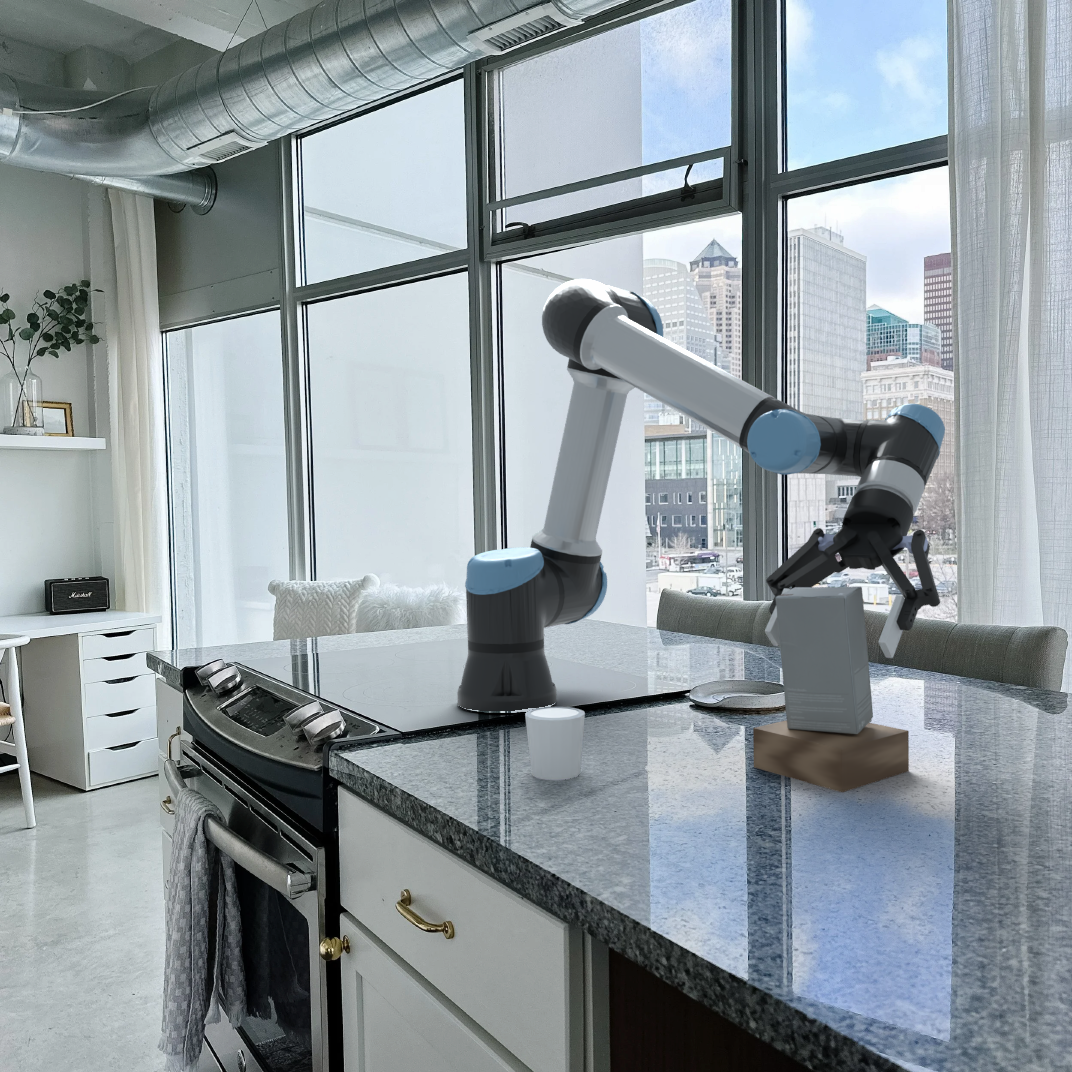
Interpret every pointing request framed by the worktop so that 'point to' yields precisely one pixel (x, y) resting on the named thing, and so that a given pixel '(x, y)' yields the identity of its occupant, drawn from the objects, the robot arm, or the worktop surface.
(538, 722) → the white tapered cup
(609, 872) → the worktop surface
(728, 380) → the robot arm
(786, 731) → the walnut block
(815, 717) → the skincare box
